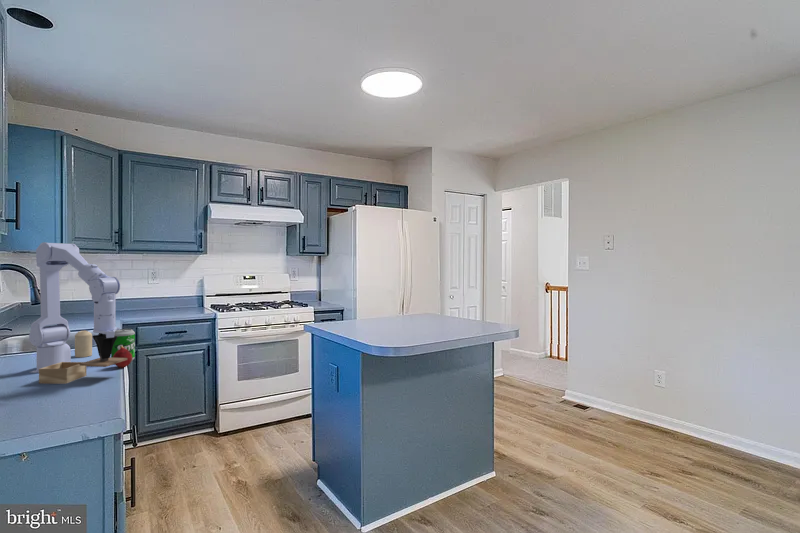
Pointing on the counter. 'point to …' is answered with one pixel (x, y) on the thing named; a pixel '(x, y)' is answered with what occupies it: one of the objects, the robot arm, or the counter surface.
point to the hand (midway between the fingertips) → (104, 357)
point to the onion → (123, 354)
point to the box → (61, 373)
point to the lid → (102, 362)
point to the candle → (83, 344)
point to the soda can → (124, 341)
